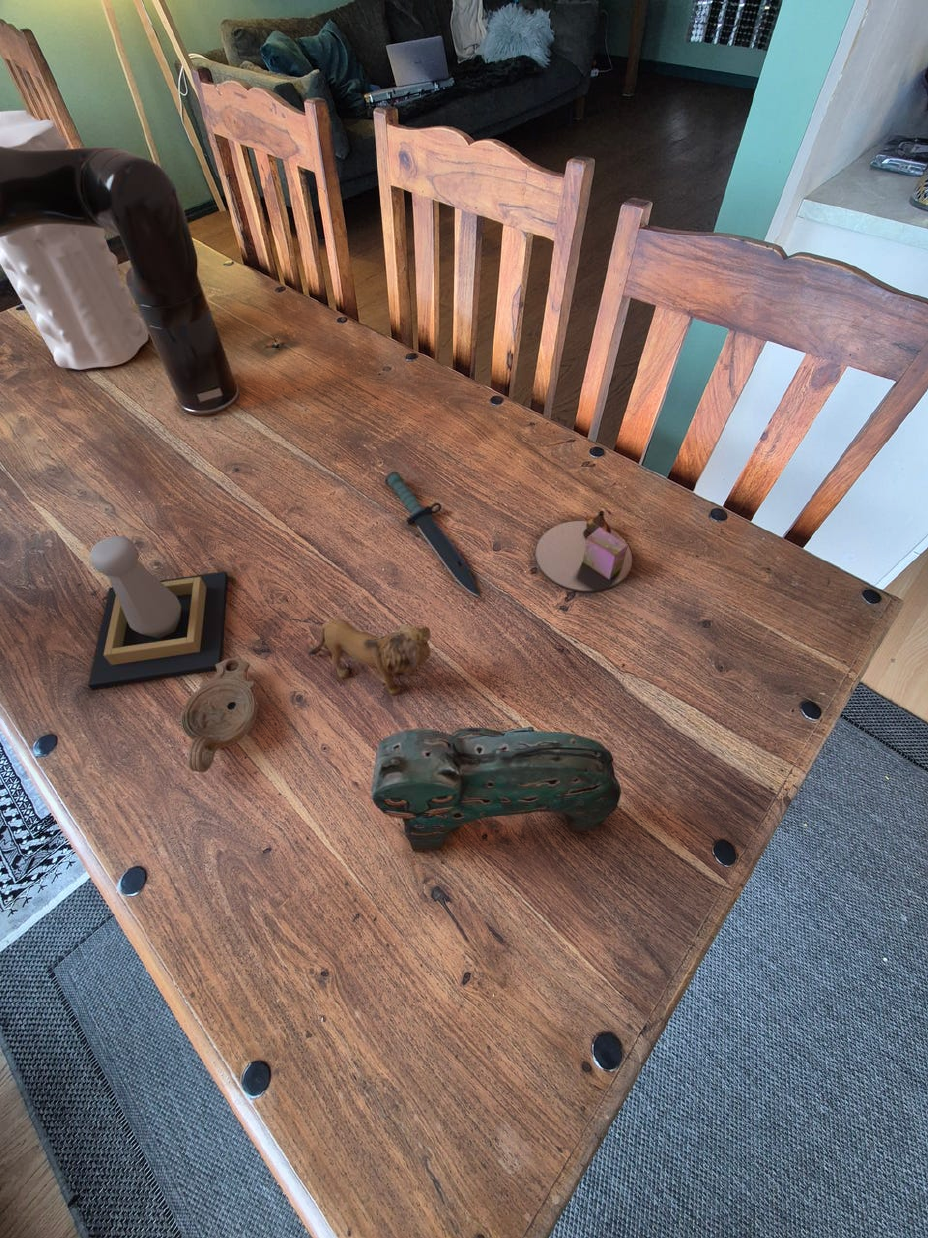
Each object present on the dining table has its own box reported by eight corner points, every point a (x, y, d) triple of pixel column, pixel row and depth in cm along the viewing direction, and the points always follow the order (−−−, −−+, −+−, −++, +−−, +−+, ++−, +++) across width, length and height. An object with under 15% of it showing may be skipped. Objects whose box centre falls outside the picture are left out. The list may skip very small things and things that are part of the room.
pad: (113, 592, 78) (101, 576, 76) (228, 576, 79) (220, 560, 77) (92, 690, 70) (78, 675, 67) (221, 670, 71) (212, 655, 69)
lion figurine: (441, 663, 71) (436, 614, 63) (427, 704, 68) (420, 658, 60) (318, 637, 73) (300, 587, 66) (299, 676, 70) (278, 628, 63)
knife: (378, 478, 86) (410, 462, 87) (381, 489, 88) (413, 473, 89) (465, 598, 75) (501, 579, 76) (467, 608, 77) (502, 589, 78)
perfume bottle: (651, 554, 79) (659, 528, 76) (590, 609, 75) (596, 584, 71) (576, 508, 85) (580, 482, 81) (515, 556, 80) (516, 530, 76)
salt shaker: (194, 606, 75) (148, 527, 65) (177, 645, 72) (125, 569, 61) (147, 603, 76) (93, 524, 65) (128, 643, 72) (68, 566, 62)
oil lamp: (214, 668, 71) (198, 643, 67) (279, 674, 70) (267, 648, 66) (169, 780, 63) (148, 758, 59) (242, 787, 63) (225, 766, 59)
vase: (126, 312, 120) (27, 99, 94) (169, 344, 112) (75, 122, 87) (37, 349, 113) (-96, 129, 87) (77, 385, 105) (-55, 157, 80)
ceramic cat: (394, 866, 58) (358, 777, 42) (392, 797, 62) (360, 691, 46) (611, 845, 58) (658, 749, 42) (596, 778, 62) (634, 667, 46)
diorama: (288, 345, 111) (285, 334, 110) (270, 354, 110) (266, 342, 108) (278, 339, 113) (275, 327, 111) (260, 347, 111) (257, 336, 110)
